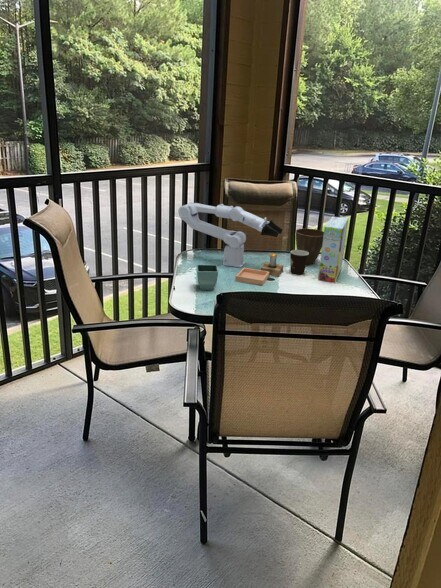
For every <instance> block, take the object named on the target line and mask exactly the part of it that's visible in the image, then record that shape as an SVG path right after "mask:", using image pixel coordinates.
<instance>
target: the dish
mask: <svg viewBox="0 0 441 588" xmlns="http://www.w3.org/2000/svg"><path fill="white" fill-rule="evenodd" d="M269 274H270V272H268V271H262V270H261V269H256V268H250V267H242V268H241V270H239V272H238V273H237V274H235V277H234V282H240V283H245V284H252V285H255V286H257V285H258V286H263V285H264V284H265V283H266V282H267V280H268V279H269V278H270V275H269Z"/></svg>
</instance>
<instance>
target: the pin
mask: <svg viewBox="0 0 441 588" xmlns="http://www.w3.org/2000/svg"><path fill="white" fill-rule="evenodd" d="M277 256H278V255H277V253H274V252H273V253H270V254H269V262H268V263H269V267H270V268H275V266H276V264H277Z"/></svg>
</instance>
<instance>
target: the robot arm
mask: <svg viewBox="0 0 441 588" xmlns="http://www.w3.org/2000/svg"><path fill="white" fill-rule="evenodd" d="M199 213H203V214H204V213H205V214H214V215H215V216H216V217H217V218H222V219H223V218H224V219H231V220H232V221H233V222H239V223H241V224H243V225H246V226H247V227H250V228H251V229H255V230H256V231H258V232H260V235H261V236H269V237H275V238H278V236H279V235H281V234H282V233H283V229H282V228H281V227H280V226H279V225H277V224H276V223H275V221H274V220H272V219H270V220H269V221H268V219H267V218H268V217H264V218H262V217H260V216H258V215H255V214H253V213H251V212H248V211H246V210H244V209H243V207H241V206H239V205H236V206H235V207H234V206H233V205H224V203H220V204H217V206H213V205H208V204H202V203H198V202H188V203H187V204H184V205H182V206H179V208H178V216H179V218H180V220H182V221H184V222H185V223H186V224H187V225H188V227H189V228H191V229H192V230H195V231H197V232H201V233H203V234H206V235H209V236H211V237H214V238H216V239H219V240H222V241H223V242H224V243H225V244H227V245H225V246H224V249H223V261H222V265H223V266H228V267H235V268H243V266H245V264H246V262H245V261H244V255H245V254H244V253H245V245H244V243H246V241H247V236H246V233H244V232H243V231H240V230H239V231H235V230H227V229H226V228H223V227H220V226H217V225H214V224H212V223H208V222H206V221H204V220H200V218H199V217H200V216H199Z"/></svg>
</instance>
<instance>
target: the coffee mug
mask: <svg viewBox="0 0 441 588" xmlns="http://www.w3.org/2000/svg"><path fill="white" fill-rule="evenodd" d="M289 253H290V254H289V255H290V257H289V259H290V262H289V264H290V265H289V266H290V268H289V269H290V273H291V274H292V275H295V276H302V275H304V274H305V271H306V270H305V269H306V266H307V265H306V263H307V259H308V255H309V253H308V252H306V251H303V250H297V249H293V250H291V251H290V252H289Z"/></svg>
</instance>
